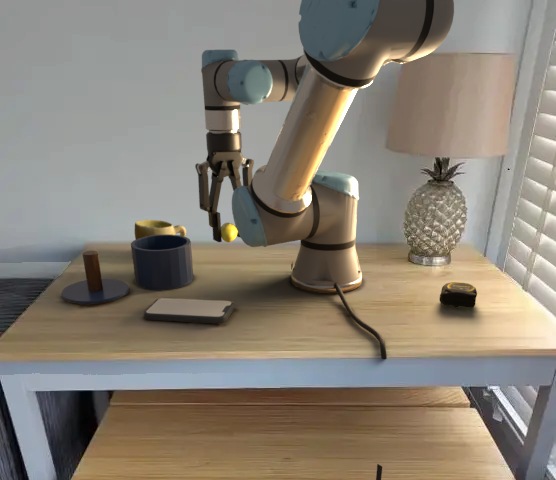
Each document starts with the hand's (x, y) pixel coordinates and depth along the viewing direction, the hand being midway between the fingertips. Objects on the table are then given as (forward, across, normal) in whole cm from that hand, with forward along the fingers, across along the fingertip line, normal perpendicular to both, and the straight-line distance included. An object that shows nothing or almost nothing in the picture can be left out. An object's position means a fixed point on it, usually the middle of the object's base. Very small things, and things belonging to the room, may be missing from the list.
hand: (228, 238), depth 141 cm
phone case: (+7, +21, +22) cm, 31 cm away
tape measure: (+7, -25, +48) cm, 54 cm away
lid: (+6, +32, +1) cm, 33 cm away
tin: (+6, +17, 0) cm, 18 cm away
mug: (+6, +10, -16) cm, 20 cm away
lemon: (+1, 0, 0) cm, 1 cm away
